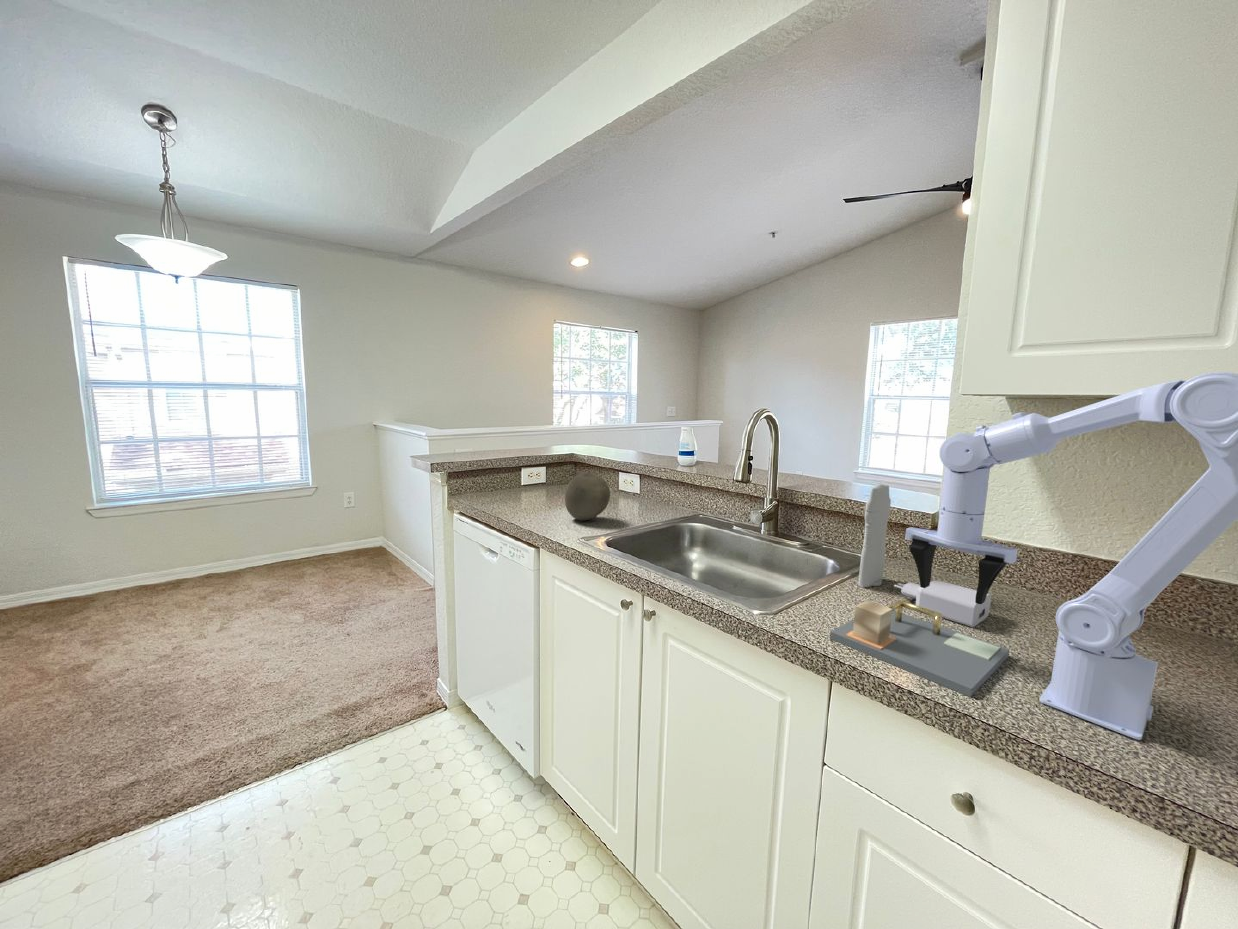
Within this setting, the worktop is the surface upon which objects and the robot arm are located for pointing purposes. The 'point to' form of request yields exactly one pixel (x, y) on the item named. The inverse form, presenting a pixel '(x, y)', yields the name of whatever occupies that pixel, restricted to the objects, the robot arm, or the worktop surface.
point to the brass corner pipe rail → (899, 609)
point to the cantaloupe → (586, 496)
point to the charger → (949, 601)
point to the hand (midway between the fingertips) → (951, 594)
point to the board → (931, 652)
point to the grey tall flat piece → (874, 537)
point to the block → (872, 622)
